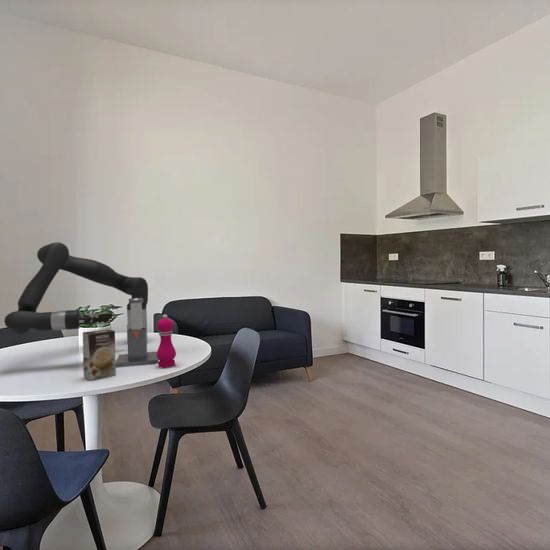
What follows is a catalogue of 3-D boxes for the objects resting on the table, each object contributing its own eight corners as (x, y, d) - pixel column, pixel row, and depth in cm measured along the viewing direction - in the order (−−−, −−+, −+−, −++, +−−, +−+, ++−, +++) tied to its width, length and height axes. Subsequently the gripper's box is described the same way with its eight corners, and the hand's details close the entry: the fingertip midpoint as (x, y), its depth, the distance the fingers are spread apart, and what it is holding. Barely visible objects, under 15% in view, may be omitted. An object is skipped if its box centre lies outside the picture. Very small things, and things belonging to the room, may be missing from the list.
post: (130, 358, 158) (127, 299, 158) (131, 355, 164) (129, 298, 163) (144, 356, 160) (142, 298, 159) (145, 353, 165) (143, 297, 164)
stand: (114, 367, 152) (113, 333, 152) (119, 358, 167) (118, 327, 167) (158, 363, 156) (157, 330, 156) (158, 354, 172) (157, 325, 171)
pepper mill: (159, 369, 148) (157, 316, 147) (155, 365, 154) (153, 314, 154) (178, 366, 151) (176, 314, 150) (173, 362, 157) (172, 312, 157)
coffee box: (90, 381, 135) (88, 334, 134) (83, 377, 139) (81, 332, 139) (116, 375, 141) (115, 330, 141) (109, 372, 146) (107, 328, 145)
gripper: (60, 312, 147) (107, 310, 152) (69, 308, 161) (112, 306, 165) (61, 332, 148) (108, 329, 152) (70, 326, 161) (113, 324, 166)
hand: (110, 317), depth 159 cm, fingers open, 8 cm apart
